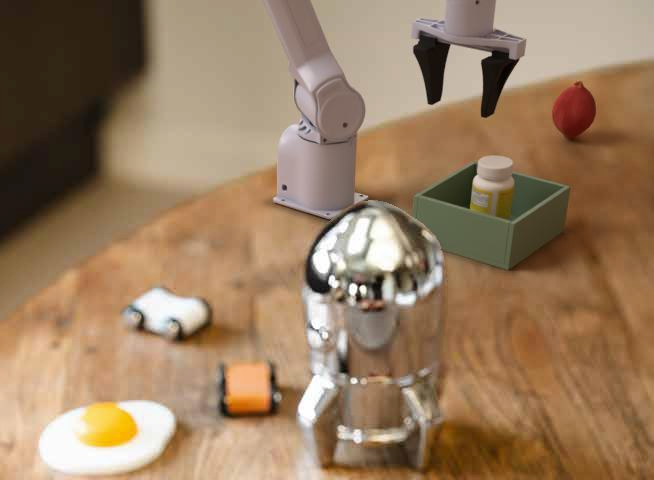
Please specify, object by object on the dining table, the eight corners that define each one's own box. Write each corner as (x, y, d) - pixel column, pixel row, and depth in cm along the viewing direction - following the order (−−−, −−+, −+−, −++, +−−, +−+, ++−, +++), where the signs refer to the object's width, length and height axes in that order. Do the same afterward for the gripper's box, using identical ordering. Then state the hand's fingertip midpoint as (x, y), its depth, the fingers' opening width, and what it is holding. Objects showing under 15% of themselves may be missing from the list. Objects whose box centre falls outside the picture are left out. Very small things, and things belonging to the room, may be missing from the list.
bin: (410, 240, 143) (413, 195, 139) (468, 204, 151) (473, 160, 147) (508, 270, 137) (514, 224, 133) (563, 231, 144) (571, 186, 141)
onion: (547, 130, 169) (555, 71, 164) (589, 132, 169) (599, 72, 163) (549, 146, 165) (558, 85, 160) (592, 147, 164) (603, 87, 159)
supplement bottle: (506, 223, 145) (516, 154, 139) (509, 240, 141) (519, 169, 136) (466, 222, 145) (474, 153, 140) (468, 239, 142) (476, 169, 136)
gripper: (545, -9, 138) (528, 111, 147) (437, -28, 145) (428, 88, 154) (514, 5, 134) (499, 128, 143) (405, -15, 141) (397, 103, 150)
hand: (460, 108), depth 148 cm, fingers open, 7 cm apart
